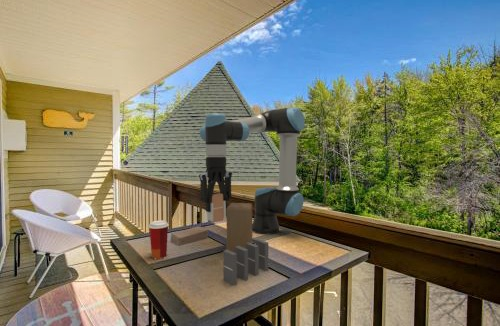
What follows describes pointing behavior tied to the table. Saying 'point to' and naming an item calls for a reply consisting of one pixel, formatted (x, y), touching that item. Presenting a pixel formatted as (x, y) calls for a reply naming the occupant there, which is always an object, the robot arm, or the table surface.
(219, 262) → the table surface
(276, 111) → the robot arm
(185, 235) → the brick
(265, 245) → the domino
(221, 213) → the head domino
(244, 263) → the domino
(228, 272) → the domino
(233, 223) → the wooden block
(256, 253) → the domino
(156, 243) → the paper cup
